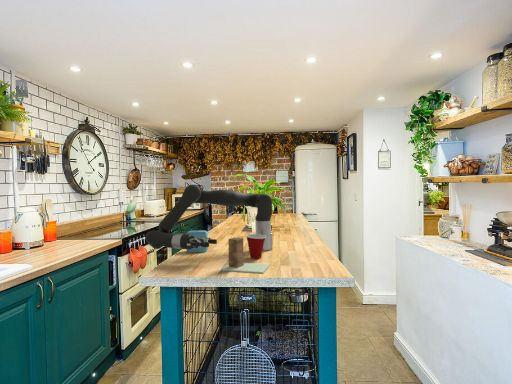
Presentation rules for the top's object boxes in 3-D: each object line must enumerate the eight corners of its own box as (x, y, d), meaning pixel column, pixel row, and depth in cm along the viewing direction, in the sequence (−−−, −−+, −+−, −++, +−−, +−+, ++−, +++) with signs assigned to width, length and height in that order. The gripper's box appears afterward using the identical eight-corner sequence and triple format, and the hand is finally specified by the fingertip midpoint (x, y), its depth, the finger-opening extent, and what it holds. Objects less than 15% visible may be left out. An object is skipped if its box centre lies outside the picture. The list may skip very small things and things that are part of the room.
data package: (208, 250, 190) (207, 230, 189) (206, 252, 185) (206, 231, 185) (188, 250, 191) (188, 230, 190) (186, 252, 186) (185, 231, 186)
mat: (220, 270, 146) (220, 269, 146) (231, 263, 159) (231, 261, 159) (263, 273, 140) (263, 272, 140) (270, 265, 153) (270, 264, 153)
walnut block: (228, 266, 150) (228, 238, 150) (235, 264, 154) (234, 237, 154) (237, 267, 148) (237, 239, 147) (243, 265, 152) (243, 238, 152)
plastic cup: (264, 260, 164) (264, 237, 163) (244, 259, 166) (243, 236, 166) (268, 255, 174) (267, 233, 174) (248, 255, 176) (248, 233, 176)
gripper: (175, 236, 152) (206, 237, 147) (190, 231, 166) (219, 233, 161) (175, 251, 153) (206, 254, 148) (190, 246, 166) (219, 248, 161)
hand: (212, 243), depth 154 cm, fingers open, 8 cm apart
